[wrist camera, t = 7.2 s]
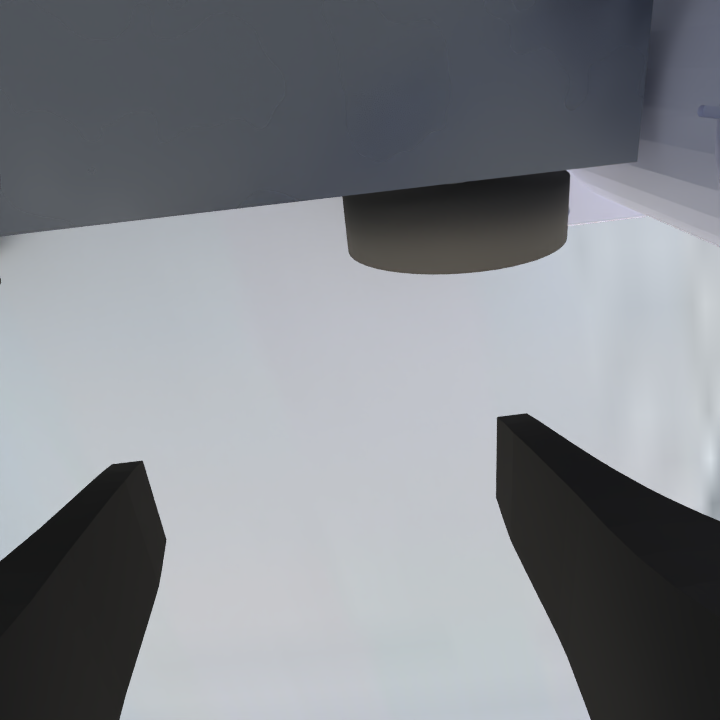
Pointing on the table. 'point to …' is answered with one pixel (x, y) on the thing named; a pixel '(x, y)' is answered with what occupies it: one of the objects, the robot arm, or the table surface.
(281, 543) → the table surface
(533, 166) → the trolley
